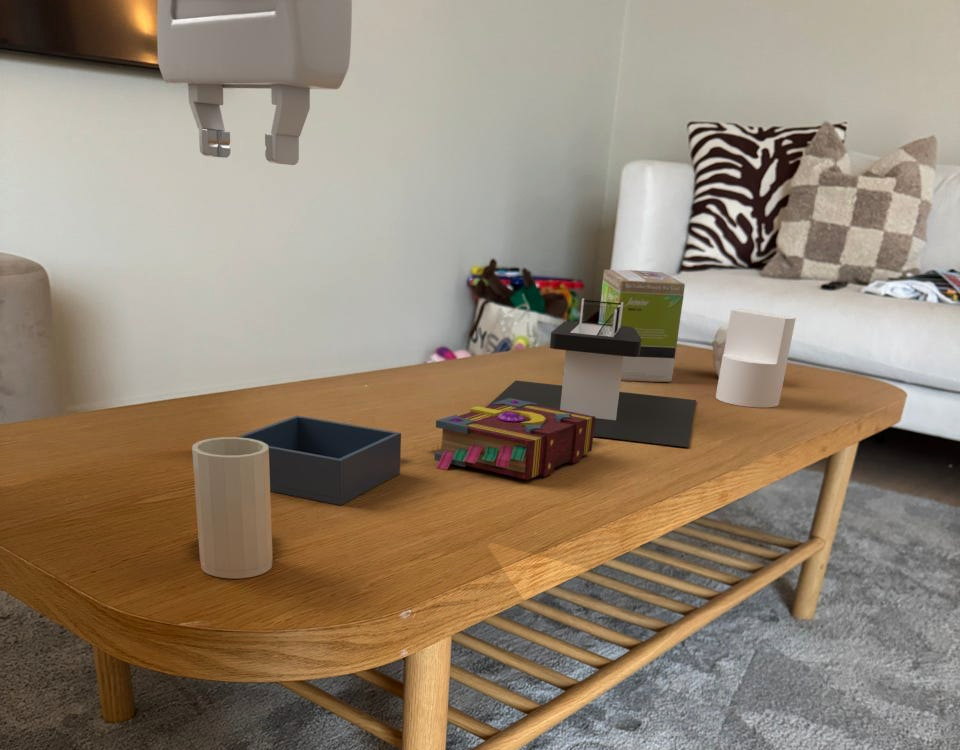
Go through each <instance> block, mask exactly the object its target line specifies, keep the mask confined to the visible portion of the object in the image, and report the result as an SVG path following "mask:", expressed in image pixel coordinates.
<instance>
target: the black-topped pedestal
mask: <svg viewBox="0 0 960 750" xmlns="http://www.w3.org/2000/svg"><path fill="white" fill-rule="evenodd" d="M602 303H604V308H603V311H604V310H605V307H606V306H605V303H607V307H608V303H609V304H610V307H611V304H613V307H614V304H615V305H616V307H614V308H617V309H616V310H615V312H614V309H612V312H614V313H613V314H612V313H610V316H611V317H608V320H609V321H610V322H608V320H607V321H606V322H605V320H606V319H607V316H608V315H609V312H610V311H611V308H612V307H611V308H610V309H609V312H608V313H607V316H606V317H605V320H604V321H602V320H603V319H604V316H603V317H602V320H601V321H599V319H601V316H599V315H600V310H602V307H600V304H601V305H602ZM617 304H618V305H619V304H621V305H619V307H617ZM622 309H623V302H621V303H612V302H601V300H589V299H585V298H581V305H580V313H579V314H580V315H579V321H576V320H575V321H574V320H573V321H563V322H562V323H561V324H559V325H558V326H557V327H555V328H554V329H553V330H552V331H551V332H550V339H549V340H550V342H549V349H552V350H559V351H565V356H564V365H563V375H562V376H563V377H562V385H561V384H552V383H544V382H533V381H526V380H525V381H524V380H514V381H513V382H512V383H511V384H509V386H508V387H506V389H504V390H503V391H502V392H501V393H500V394H499V395H497V396H496V397H495V398H494V399H493V400H492V401H491V402H490V403H489V404H488V405H487V406H486V407H489V406H492V403H495V402H499V401H502V400H505V399H508V398H512V399H516V400H521V401H526V402H531V403H536V404H538V406H543V407H548V408H553V409H559V410H564V411H569V412H574V413H579V414H585V415H590V416H595V425H594V434H593V437H597V438H600V437H601V438H606V439H607V438H608V439H615V440H616V439H617V440H623V441H631V442H641V443H650V444H657V445H665V446H674V447H684V448H689V446H690V440H691V434H692V428H693V421H694V415H695V410H696V402H697V400H696V399H689V398H682V397H681V398H679V397H671V396H663V395H652V394H646V393H645V394H643V393H634V392H627V391H625V392H624V391H620V389H621V382H622V380H621V375H622V367H623V359H624V356H627V357H639V355H640V349H641V341H642V339H641V337H640V336H639V334H638V333H637V331H636V330H635V329H634V328H633V327H628V326H621V317H622ZM603 311H602V312H601V315H602V314H603ZM606 311H608V308H606ZM604 315H606V312H604ZM612 316H613V317H612ZM610 318H611V319H610ZM613 318H614V319H613ZM612 320H613V322H612ZM600 322H602V324H599V323H600ZM603 322H605V324H603ZM606 323H608V324H606ZM610 323H611V325H610Z"/></svg>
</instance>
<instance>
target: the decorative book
mask: <svg viewBox="0 0 960 750" xmlns="http://www.w3.org/2000/svg"><path fill="white" fill-rule="evenodd" d="M594 425H595V416H590V415H585V414H579V413H574V412H569V411H564V410H559V409H553V408H548V407H543V406H538V404H536V403H531V402H526V401H521V400H516V399H512V398H508V399H505V400H502V401H499V402H495V403H492V406H489V407H487V406H485V407H483V406H479V405H478V406H477V405H476V406H474V407H470V408H469V412H465V413H463V414H460V415H458V414H457V413H456V414H453V415H450V416H447V417H443V418H439V419H436V420H435V428H437V429H441V430H442V434H441V435H442V436H441V437H442V438H441V450H440V451H438V452H434V461H436V462H437V464H436V466H435V468H437V469H441V470H443V471H444V470H445V471H447V470H448V469H449V467H450V465H454V466H459V467H462V468H466V466H467V467H471V468H476V469H479V470H483V471H488V472H492V473H496V474H501V475H506V476H510V477H514V478H517V479H522V480H527V481H528V480H530V479H533V478H535V477H538V476H539V477H543V478H545V477H547V476H549V475H551V474H553V473H554V472H555V468H557V467H559V466H561V465H563V464H566V463H570V464H575V463H578V462H579V461H581V460H582V459H583V456H584V455H586V454H588V453H590V452H592V451H593V450H592V449H593V442H594V436H593V434H594Z"/></svg>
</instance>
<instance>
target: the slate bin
mask: <svg viewBox="0 0 960 750" xmlns="http://www.w3.org/2000/svg"><path fill="white" fill-rule="evenodd" d="M236 437H240V438H249V439H254V440H258V441H262V442H264V443H265V444H267V445H268V447H269V470H270V493H276V494H280V495H281V494H282V495H286V496H291V497H297V498H301V499H306V500H313V501H317V502H322V503H326V504H332V505H336V506H343V505H344V504H346V503H348V502H350V501H352V500H354V499H355V498H357V497H359V496H361V495H363V494H365V493H366V492H368V491H370V490H372V489H374V488H376V487H378V486H380V485H382V484H383V483H385V482H387V481H389V480H390V479H392V478H394V477H397V476H398V475H400V474H401V455H402V454H401V453H402V452H401V451H402V450H401V449H402V433H401V432H397V431H392V430H386V429H380V428H375V427H368V426H362V425H356V424H351V423H344V422H338V421H332V420H326V419H320V418H316V417H315V418H314V417H309V416H303V415H294V416H292V417H288V418H286V419H283V420H280V421H277V422H275V423H271V424H269V425H266V426H262V427H260V428H257V429H254V430H252V431H248V432H245V433H243V434H240V435H237V436H236Z"/></svg>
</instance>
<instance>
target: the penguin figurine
mask: <svg viewBox="0 0 960 750" xmlns="http://www.w3.org/2000/svg"><path fill="white" fill-rule="evenodd" d="M728 325H729V320H727V321H726V322H724V323H723V324H721V325H720V326H719V327H718V329H717V330H716V332H715V335H714V339H713V341H712V343H711V346H712V360H713V368H714V371H715V373H716V375H717V376H718V378H719V374H720V368H721V362H722V357H723V354H724V349H725V343H726V337H727V331H728Z"/></svg>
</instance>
